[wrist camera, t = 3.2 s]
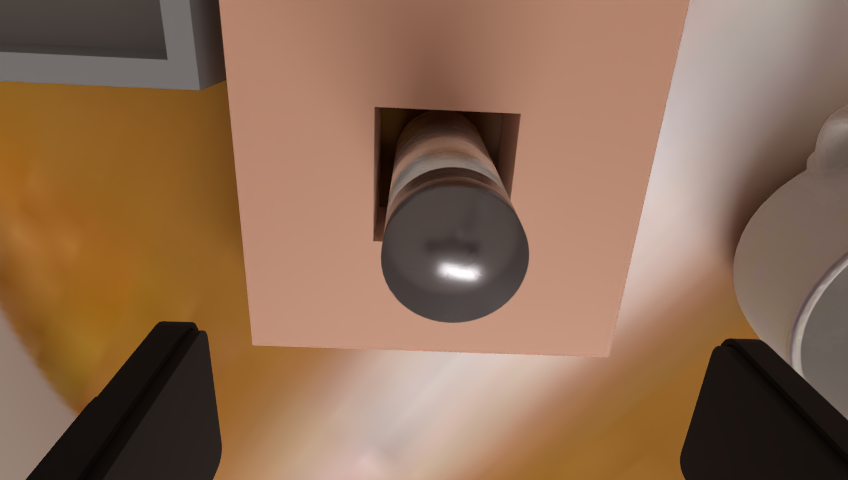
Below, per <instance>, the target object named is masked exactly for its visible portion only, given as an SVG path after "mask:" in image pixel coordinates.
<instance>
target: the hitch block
mask: <svg viewBox="0 0 848 480" xmlns="http://www.w3.org/2000/svg"><path fill="white" fill-rule="evenodd" d="M689 1H690V0H219V6H220V17H221V27H222V37H223V47H224V57H225V68H226V78H227V88H228V98H229V108H230V119H231V129H232V139H233V149H234V159H235V170H236V180H237V190H238V200H239V210H240V221H241V231H242V241H243V251H244V262H245V272H246V282H247V292H248V302H249V313H250V323H251V333H252V343H253V345H261V346H290V347H320V348H349V349H378V350H408V351H437V352H467V353H496V354H526V355H555V356H584V357H609V354H610V349H611V345H612V340H613V336H614V332H615V327H616V323H617V318H618V314H619V310H620V305H621V301H622V296H623V292H624V288H625V283H626V279H627V274H628V270H629V265H630V261H631V257H632V252H633V248H634V243H635V239H636V235H637V230H638V226H639V221H640V217H641V213H642V208H643V204H644V199H645V195H646V190H647V186H648V182H649V177H650V173H651V168H652V164H653V160H654V155H655V151H656V146H657V142H658V138H659V133H660V129H661V124H662V120H663V116H664V111H665V107H666V102H667V98H668V93H669V89H670V85H671V80H672V76H673V71H674V67H675V63H676V58H677V54H678V49H679V45H680V41H681V36H682V32H683V27H684V23H685V19H686V14H687V10H688V5H689ZM381 107H387V108H409V109H430V110H451V111H473V112H494V113H503V119H502V129H501V138H500V148H499V157H498V166H497V173H498V175H499V177H500V179H501V181H502V183H503V185H504V188H505V190H506V192H507V194H508V196H509V198H510V200H511V203H512V205H513V207H514V209H515V211H516V213H517V216H518V218H519V220H520V222H521V224H522V226H523V228H524V231H525V234H526V236H527V240H528V245H529V263H528V268H527V272H526V275H525V278H524V280H523V282H522V284H521V286H520V287H519V289H518V290H517V292H516V293H515V295H514V296H513V297H512V298H511V299H510V300H509V301H508V302H507V303H506V304H504V305H503V306H502V307H501V308H499V309H498V310H496V311H495V312H493V313H491V314H489V315H487V316H485V317H482V318H479V319H476V320H472V321H468V322H460V323H446V322H438V321H434V320H430V319H427V318H424V317H422V316H419V315H417V314H415V313H414V312H412V311H410V310H409V309H407V308H406V307H405V306H404V305H402V304H401V303H400V302H399V301H398V300H397V299H396V297H395V296H394V295H393V293H392V292H391V291H390V289H389V287H388V285H387V283H386V281H385V278H384V276H383V272H382V267H381V249H382V242H383V235H384V228H385V221H386V214H387V207H380V151H381Z"/></svg>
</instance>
